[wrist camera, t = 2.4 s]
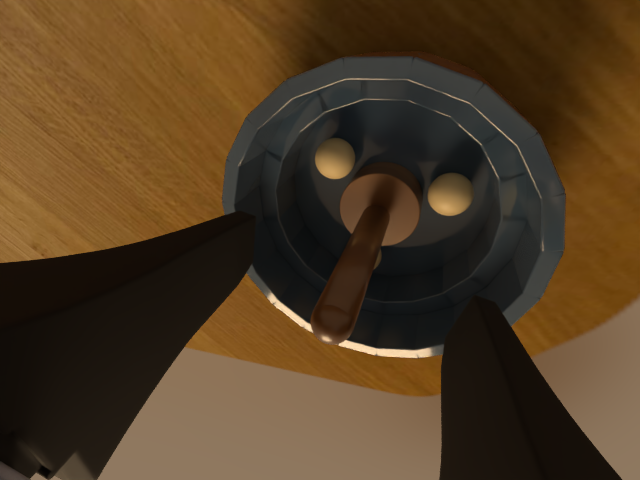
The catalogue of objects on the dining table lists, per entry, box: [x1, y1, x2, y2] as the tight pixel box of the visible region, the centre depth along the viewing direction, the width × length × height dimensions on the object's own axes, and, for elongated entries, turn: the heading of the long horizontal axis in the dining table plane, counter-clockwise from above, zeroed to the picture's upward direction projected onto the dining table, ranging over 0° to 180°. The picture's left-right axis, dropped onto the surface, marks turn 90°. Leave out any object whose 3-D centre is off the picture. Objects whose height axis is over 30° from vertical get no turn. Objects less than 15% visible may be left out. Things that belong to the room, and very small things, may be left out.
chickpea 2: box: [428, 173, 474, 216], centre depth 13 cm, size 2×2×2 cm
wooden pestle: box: [311, 162, 423, 345], centre depth 12 cm, size 4×4×9 cm
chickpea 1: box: [315, 138, 355, 179], centre depth 14 cm, size 2×2×2 cm
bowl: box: [222, 51, 566, 358], centre depth 14 cm, size 12×12×5 cm
